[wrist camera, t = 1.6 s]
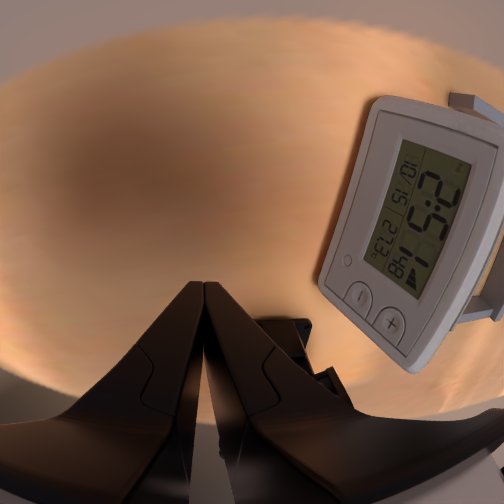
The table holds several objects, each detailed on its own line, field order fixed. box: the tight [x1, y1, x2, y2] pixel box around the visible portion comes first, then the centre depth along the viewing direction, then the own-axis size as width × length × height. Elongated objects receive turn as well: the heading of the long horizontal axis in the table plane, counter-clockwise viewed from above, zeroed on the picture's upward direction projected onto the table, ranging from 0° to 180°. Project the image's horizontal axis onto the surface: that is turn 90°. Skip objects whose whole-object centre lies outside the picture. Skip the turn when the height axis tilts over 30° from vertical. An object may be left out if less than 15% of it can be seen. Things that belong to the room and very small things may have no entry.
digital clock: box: [318, 95, 504, 374], centre depth 17 cm, size 16×9×11 cm, turn 156°
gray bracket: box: [449, 93, 504, 324], centre depth 22 cm, size 21×18×5 cm
